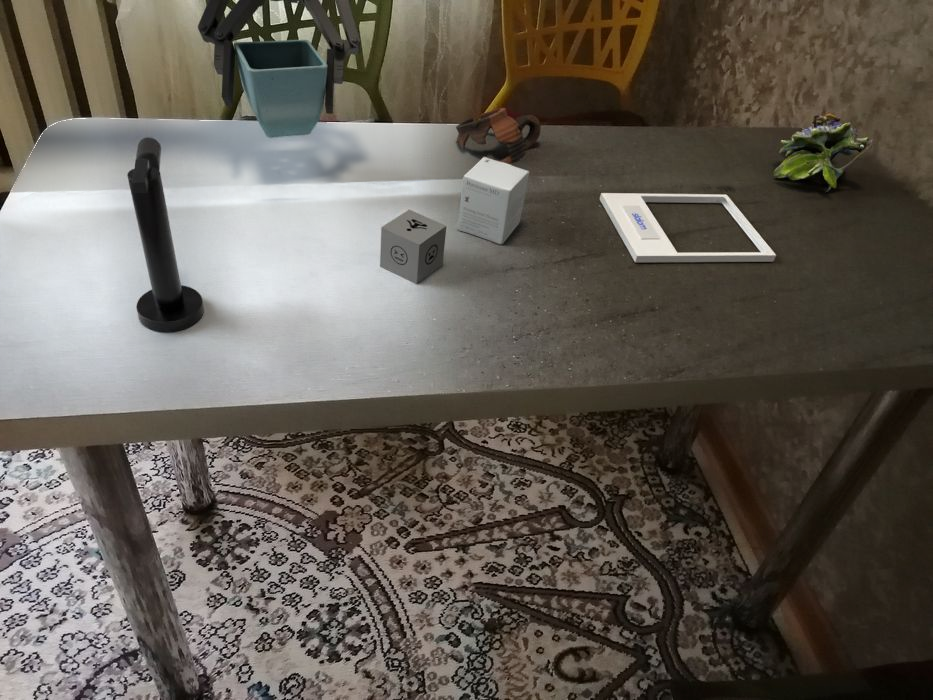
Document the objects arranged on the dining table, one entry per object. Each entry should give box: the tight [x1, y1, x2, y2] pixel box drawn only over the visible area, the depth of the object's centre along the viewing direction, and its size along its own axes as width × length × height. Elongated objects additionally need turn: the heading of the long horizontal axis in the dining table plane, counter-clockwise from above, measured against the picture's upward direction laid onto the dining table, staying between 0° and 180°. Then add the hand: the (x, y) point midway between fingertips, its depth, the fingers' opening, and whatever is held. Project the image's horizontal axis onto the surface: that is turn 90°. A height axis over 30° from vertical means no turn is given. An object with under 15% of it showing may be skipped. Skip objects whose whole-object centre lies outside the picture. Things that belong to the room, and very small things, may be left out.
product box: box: [457, 156, 530, 245], centre depth 88 cm, size 6×6×7 cm
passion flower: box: [773, 113, 874, 193], centre depth 107 cm, size 11×11×12 cm
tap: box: [126, 136, 205, 333], centre depth 69 cm, size 11×6×16 cm, turn 14°
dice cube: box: [379, 209, 447, 285], centre depth 81 cm, size 5×5×5 cm
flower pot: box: [233, 39, 328, 139], centre depth 87 cm, size 9×9×9 cm
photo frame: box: [599, 192, 777, 263], centre depth 94 cm, size 15×1×18 cm
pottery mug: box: [455, 107, 542, 165], centre depth 103 cm, size 12×10×8 cm
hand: (278, 105), depth 85 cm, fingers closed on flower pot, 11 cm apart
